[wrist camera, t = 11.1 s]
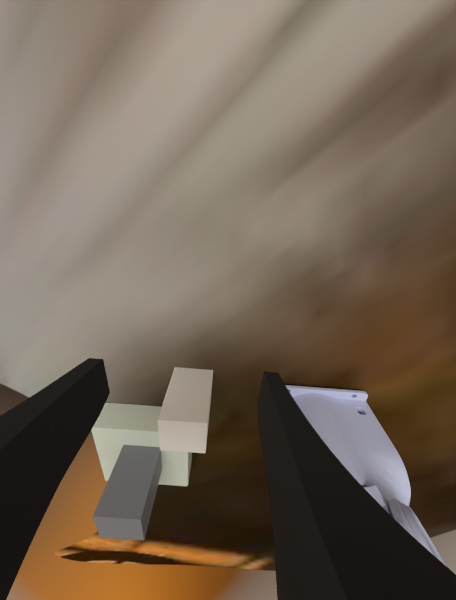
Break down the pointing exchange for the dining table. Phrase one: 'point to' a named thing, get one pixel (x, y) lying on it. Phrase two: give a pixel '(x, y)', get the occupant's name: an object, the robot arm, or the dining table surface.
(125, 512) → the grey rectangular prism
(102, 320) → the dining table surface
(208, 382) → the off-white pillar
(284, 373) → the dining table surface
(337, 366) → the dining table surface
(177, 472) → the sage board
